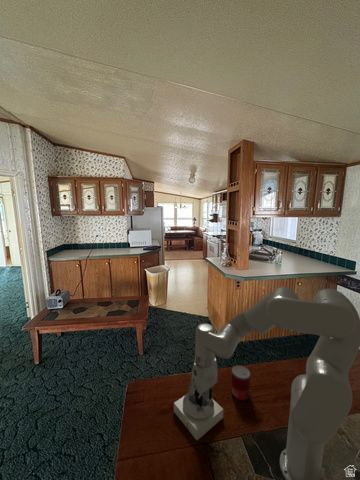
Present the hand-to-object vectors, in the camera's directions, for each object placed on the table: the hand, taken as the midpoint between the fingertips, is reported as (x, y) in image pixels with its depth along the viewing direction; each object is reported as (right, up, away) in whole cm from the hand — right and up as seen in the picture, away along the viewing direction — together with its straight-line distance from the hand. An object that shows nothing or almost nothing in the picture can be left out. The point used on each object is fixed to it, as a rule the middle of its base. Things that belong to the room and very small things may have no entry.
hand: (203, 400), depth 82 cm
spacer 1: (-3, -3, +5) cm, 6 cm away
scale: (-2, -8, +3) cm, 9 cm away
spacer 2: (0, -1, 0) cm, 1 cm away
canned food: (+18, -8, +14) cm, 24 cm away
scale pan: (-2, -4, +3) cm, 5 cm away
